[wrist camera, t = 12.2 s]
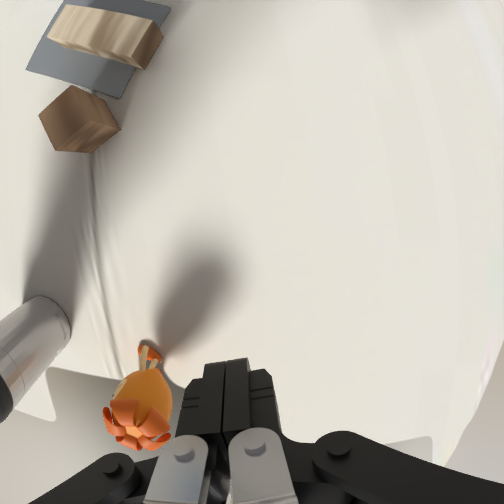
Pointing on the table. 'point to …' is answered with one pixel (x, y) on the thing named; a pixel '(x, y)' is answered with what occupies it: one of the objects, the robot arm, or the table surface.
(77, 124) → the walnut block
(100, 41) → the beech block
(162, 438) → the toy figure
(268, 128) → the table surface
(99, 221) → the table surface
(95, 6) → the slate mat
